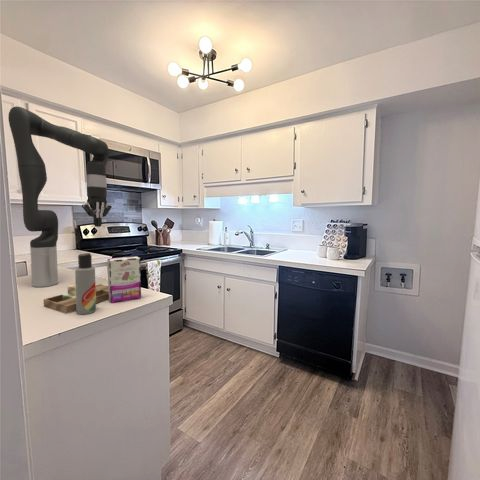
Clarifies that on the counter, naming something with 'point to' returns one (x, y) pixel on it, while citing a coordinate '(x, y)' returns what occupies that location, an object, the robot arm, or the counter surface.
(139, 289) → the candy bar box
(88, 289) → the lotion bottle
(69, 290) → the beech block
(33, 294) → the counter surface
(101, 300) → the board
